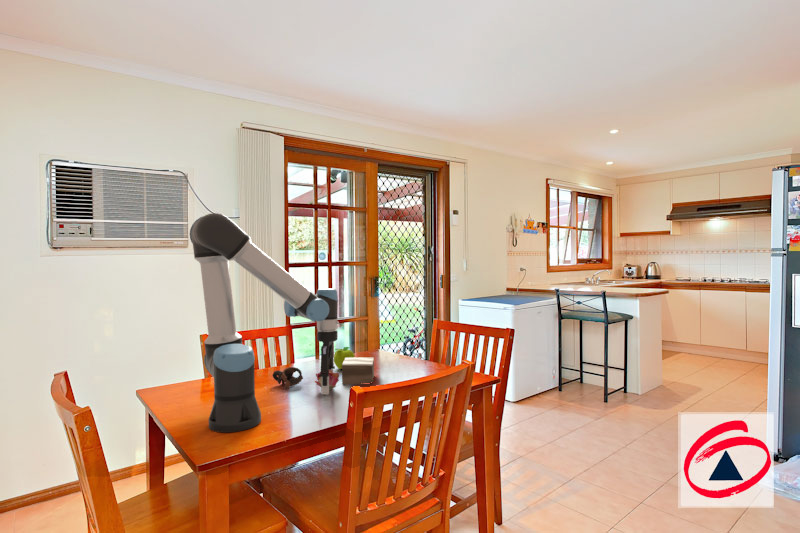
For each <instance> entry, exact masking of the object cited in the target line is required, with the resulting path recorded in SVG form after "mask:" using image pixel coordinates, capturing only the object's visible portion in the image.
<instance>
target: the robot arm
mask: <svg viewBox="0 0 800 533" xmlns="http://www.w3.org/2000/svg"><path fill="white" fill-rule="evenodd" d="M189 239H190V242H191V243H192V249H193V256H194V260H195V261H197V262H199V265H200V272H201V281H202V290H203V298H204V299H203V300H204V307H205V308H204V309H205V316H206V325H207V334H208V336H207V338H206V339H205V340H204V343H203V344H204V351H205V352H204V353H205V354H204V358H203V359H204V360H203V361H204V367H205V369H206V370H207V372H208V373H209V374H210V375H211V376H212V378H213V385H214V386H213V389H214V391H213V392H214V393H213V394H214V397H213V398H214V401H213V404H212V407H211V411H210V414H209V417H208V429H209V430H211V431H213V432H218V433H235V432H241V431H245V430H248V429H251V428H253V427H257V425H260V423H261V421H262V412H261V409H260V406H259V404H258V401H257V399H256V395H255V392H256V391H255V390H256V388H255V383H256V382H255V360H256V359H255V352H254V350H253V348H252V346H250V345H247V344H243V336H242V335H241V333H238V332H237V327H236V318H235V317H236V316H235V308H234V307H235V306H234V300H233V293H232V292H233V290H232V282H231V272H230V271H231V270H230V263H229V261H230V262H231V261H234V262H236V263H237V264H238V265H239V266H241V268H243V269H245V270H246V271H247V272H248V273H249V274H251V275H252V276H254V277H255V278H256V279H257V280H259V282H261V283H262V284H264V285H265V286H266V287H267V288H269V289H270V290H271V291H273V292H274V293H275V294H276V295H278V297H280V298H281V299H283V300H284V301H283V309H284V314H285V315H286V316H287V317H290V318H291V317H294V318H296V317H300V318H304V319H308V320H310V321H311V322H316V330H317V332H316V341H317V342H320V343H321V342H322V345H321V347H320V372H321V373H320V372H319V373H320V375H319V377H321V387H320V388H321V390H320V391H321V395H330V390H329V370H331V371H333V372H334V370H335V369H336V367H335V366H336V365H335V363H334V342H336V341H338V324H340V322H339V321H338V303H339V302H338V301H339V300H338V296H339V295H338V291H337V289H335V288H318V289H317V290H316V293H313V292H312V291H311V290H310V289H308V288H307V287H306V286H304V285H303V283H301V282H300V281H299V280H298V279H296V278H295V277H294V276H293V275H291V274H290V273H289V272H288V271H286V270H285V269H284V268H283V267H282V266H281V265H280V264H278V263H277V262H276V261H275V260H273V259H272V258H271V257H270V256H268V254H266V253H265V252H264V251H262V250H261V249H260V248H259V247H258V246H257V245H255V244H254V243H253V242H252V239H251V236H249V234H247V233H246V232H245V231H244V230H243V229H242V228H241V227H240V226H238V225H237V224H236V223H235V222H234V220H232V219H231V218H229V217H228V216H226V215H225V214H221V213H218V212H216V213H214V212H213V213H209V214H205V215H203V216H200V217H199V218H197V219H196V220H195V221H194V222H193V223H192V225H191V227H190V229H189ZM334 365H335V366H334ZM323 372H325V373H323Z"/></svg>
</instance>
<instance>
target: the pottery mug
mask: <svg viewBox="0 0 800 533" xmlns="http://www.w3.org/2000/svg"><path fill="white" fill-rule="evenodd" d="M296 372H297V373H298V376H297V377H295V376H293V375H294V373H296ZM302 374H303V373H302V370H300V368H298V367H294V366H289V367H286V368H284V369H283V370H274V371H273V373H272V377H273V380H274V381H276V382H277V383H278V385H283V384H284V388H285V389H286V390H289V389H290V388H291V387H294V386H297V385H299V384H300V383H301V382H302V380H303V379H304V377H303V375H302Z"/></svg>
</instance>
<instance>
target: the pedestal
mask: <svg viewBox="0 0 800 533" xmlns="http://www.w3.org/2000/svg"><path fill="white" fill-rule="evenodd" d="M373 378H374V379H375V357H373V356H369V357H366V356H365V357H363V356H362V357H354V358H345V360H344V362H343V364H342V370H341V382H342V383H341V384H350V385H351V386H352V385H353V384H355V385H362V384H361V383H371V382H373V383H374V379H373Z"/></svg>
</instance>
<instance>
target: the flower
mask: <svg viewBox="0 0 800 533" xmlns="http://www.w3.org/2000/svg"><path fill="white" fill-rule="evenodd" d="M320 373H321V371H319V372H317V373H315V377H316V379H317V380H314V383H315V384H316V386H319V387H320V388H321V377H319V375H320ZM323 373H325V372H323ZM339 373H340V372H334V370H333V371H331V370H329V391H334V390H335V388H336V387H338V385H337V384H338V382H339V381H340V379H339V377H340V374H339Z"/></svg>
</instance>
